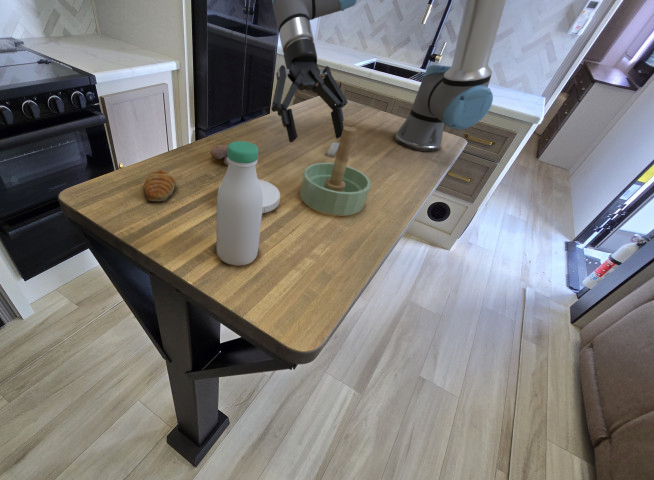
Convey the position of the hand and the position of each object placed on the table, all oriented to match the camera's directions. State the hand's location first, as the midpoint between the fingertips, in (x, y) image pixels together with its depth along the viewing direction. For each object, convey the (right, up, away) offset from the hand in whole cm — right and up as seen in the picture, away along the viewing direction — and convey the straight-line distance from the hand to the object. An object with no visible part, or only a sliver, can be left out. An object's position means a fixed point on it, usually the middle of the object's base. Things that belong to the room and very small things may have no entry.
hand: (317, 138), depth 80 cm
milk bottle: (-18, -30, -18) cm, 39 cm away
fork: (+12, +11, +28) cm, 32 cm away
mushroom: (-24, -1, +11) cm, 26 cm away
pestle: (+3, -14, 0) cm, 15 cm away
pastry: (-37, -15, -4) cm, 40 cm away
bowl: (+3, -15, +1) cm, 15 cm away
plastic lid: (-17, -17, -3) cm, 24 cm away
